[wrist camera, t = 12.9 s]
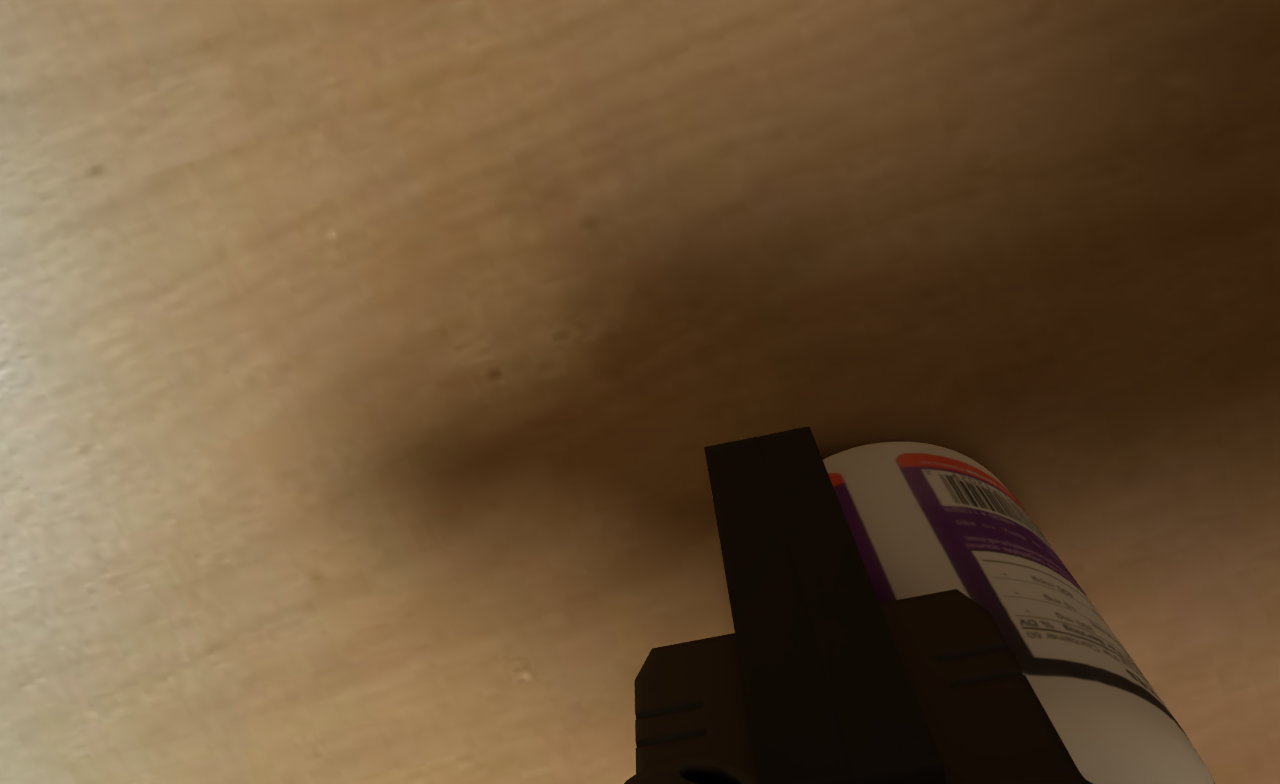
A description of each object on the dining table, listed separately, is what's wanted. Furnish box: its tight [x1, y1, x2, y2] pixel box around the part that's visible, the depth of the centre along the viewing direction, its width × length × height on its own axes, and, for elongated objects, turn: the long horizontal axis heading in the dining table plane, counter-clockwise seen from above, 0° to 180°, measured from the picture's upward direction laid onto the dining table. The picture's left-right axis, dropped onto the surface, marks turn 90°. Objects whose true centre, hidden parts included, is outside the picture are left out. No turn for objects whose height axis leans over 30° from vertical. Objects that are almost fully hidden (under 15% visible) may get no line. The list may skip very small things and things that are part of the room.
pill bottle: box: [823, 441, 1215, 784], centre depth 15 cm, size 5×5×10 cm
